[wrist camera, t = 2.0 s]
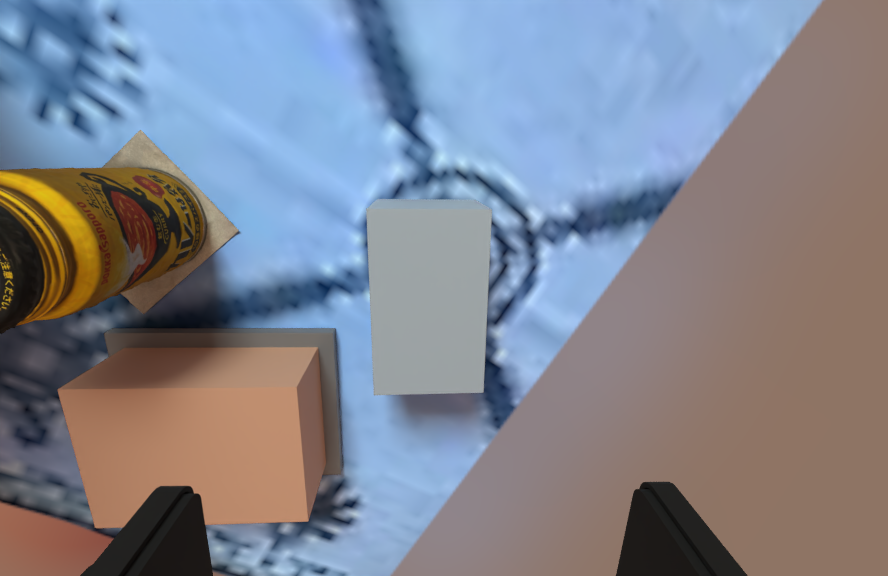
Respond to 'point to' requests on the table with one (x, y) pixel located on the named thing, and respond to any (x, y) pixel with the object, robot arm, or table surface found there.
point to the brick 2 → (428, 294)
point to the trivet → (254, 338)
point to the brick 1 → (200, 431)
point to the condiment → (101, 234)
